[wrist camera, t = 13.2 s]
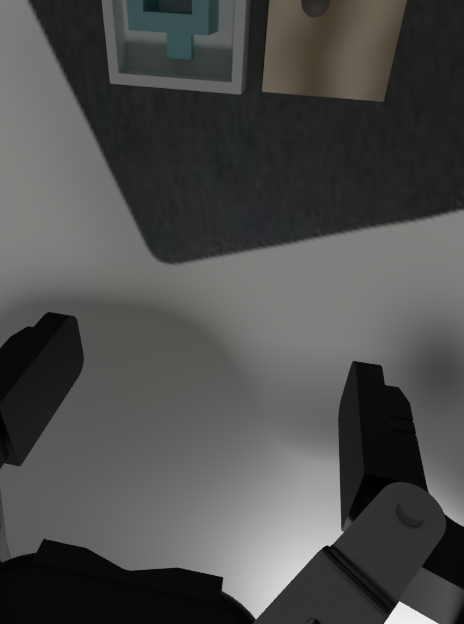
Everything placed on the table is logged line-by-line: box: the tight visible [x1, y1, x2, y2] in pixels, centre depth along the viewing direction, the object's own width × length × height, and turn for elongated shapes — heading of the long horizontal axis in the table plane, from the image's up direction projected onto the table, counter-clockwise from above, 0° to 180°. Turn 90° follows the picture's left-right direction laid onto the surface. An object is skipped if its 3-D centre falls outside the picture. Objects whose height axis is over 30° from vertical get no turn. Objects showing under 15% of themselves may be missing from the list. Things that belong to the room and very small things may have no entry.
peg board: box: [262, 0, 407, 102], centre depth 33 cm, size 10×10×4 cm
